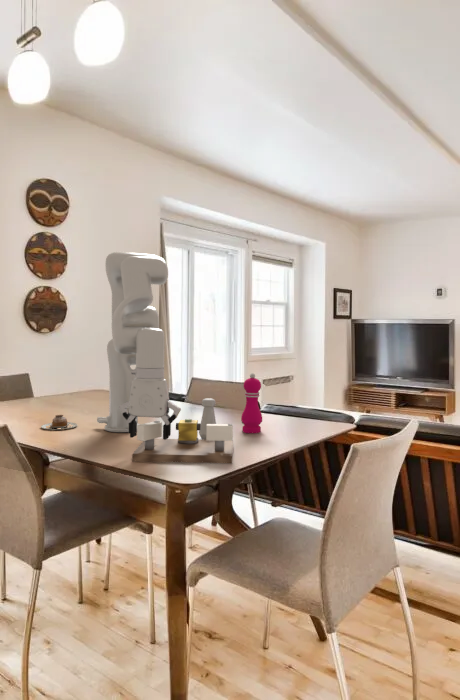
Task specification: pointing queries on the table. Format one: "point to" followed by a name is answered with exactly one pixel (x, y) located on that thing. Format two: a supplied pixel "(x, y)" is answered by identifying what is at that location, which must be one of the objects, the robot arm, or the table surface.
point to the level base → (185, 448)
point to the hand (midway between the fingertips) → (149, 437)
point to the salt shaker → (207, 416)
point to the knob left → (149, 433)
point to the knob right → (219, 434)
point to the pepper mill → (252, 406)
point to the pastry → (59, 423)
